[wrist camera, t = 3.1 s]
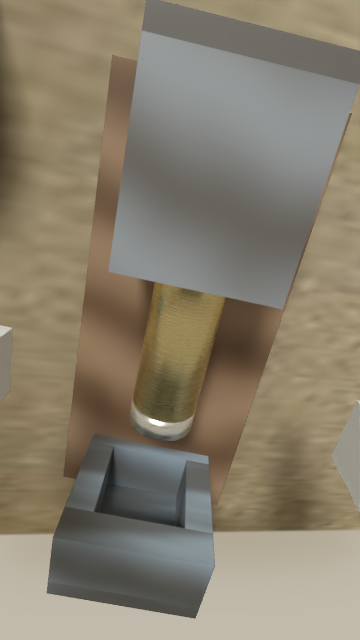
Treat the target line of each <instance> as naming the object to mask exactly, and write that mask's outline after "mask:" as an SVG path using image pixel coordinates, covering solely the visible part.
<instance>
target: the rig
mask: <svg viewBox="0 0 360 640" xmlns="http://www.w3.org/2000/svg"><path fill="white" fill-rule="evenodd" d="M359 84H360V51H358V50H354V49H350V48H346V47H342V46H338V45H334V44H330V43H326V42H322V41H318V40H314V39H311V38H307V37H303V36H299V35H295V34H291V33H287V32H283V31H279V30H275V29H271V28H267V27H263V26H259V25H255V24H251V23H247V22H243V21H239V20H235V19H231V18H228V17H224V16H220V15H216V14H212V13H208V12H204V11H200V10H196V9H192V8H188V7H184V6H180V5H176V4H172V3H168V2H164V1H160V0H146V5H145V12H144V19H143V26H142V34H141V41H140V48H139V55H138V61H134V60H130V59H126V58H122V57H118V56H114V55H112V63H111V72H110V80H109V89H108V98H107V106H106V115H105V123H104V132H103V141H102V149H101V158H100V166H99V175H98V184H97V192H96V201H95V209H94V218H93V227H92V235H91V244H90V252H89V261H88V270H87V278H86V287H85V295H84V304H83V313H82V321H81V330H80V338H79V347H78V356H77V364H76V373H75V381H74V390H73V399H72V407H71V416H70V424H69V433H68V442H67V450H66V459H65V467H64V477H70V478H75V479H76V480H75V483H74V486H73V488H72V491H71V493H70V496H69V498H68V501H67V503H66V506H65V508H64V511H63V513H62V516H61V518H60V521H59V523H58V526H57V528H56V531H55V534H54V536H53V543H52V551H51V560H50V569H49V578H48V587H47V593H50V594H55V595H62V596H67V597H73V598H78V599H84V600H90V601H96V602H103V603H108V604H114V605H119V606H125V607H131V608H137V609H143V610H149V611H155V612H160V613H166V614H172V615H179V616H184V617H190V618H196V615H197V613H198V610H199V607H200V604H201V602H202V599H203V596H204V594H205V591H206V589H207V586H208V583H209V580H210V578H211V575H212V572H213V570H214V567H215V562H214V561H215V560H214V544H213V527H212V510H211V504H214V505H217V504H218V501H219V498H220V495H221V492H222V489H223V486H224V483H225V480H226V478H227V475H228V472H229V469H230V466H231V463H232V460H233V457H234V454H235V451H236V449H237V446H238V443H239V440H240V437H241V434H242V431H243V428H244V425H245V422H246V419H247V417H248V414H249V411H250V408H251V405H252V402H253V399H254V396H255V393H256V390H257V388H258V385H259V382H260V379H261V376H262V373H263V370H264V367H265V364H266V361H267V358H268V356H269V353H270V350H271V347H272V344H273V341H274V338H275V335H276V332H277V329H278V327H279V324H280V321H281V318H282V315H283V312H284V309H285V306H286V303H287V300H288V297H289V295H290V292H291V289H292V286H293V283H294V280H295V277H296V274H297V271H298V268H299V266H300V263H301V260H302V257H303V254H304V251H305V248H306V245H307V242H308V239H309V237H310V234H311V231H312V228H313V225H314V222H315V219H316V216H317V213H318V210H319V207H320V205H321V202H322V199H323V196H324V193H325V190H326V187H327V184H328V181H329V178H330V176H331V173H332V170H333V167H334V164H335V161H336V158H337V155H338V152H339V149H340V146H341V144H342V141H343V138H344V135H345V132H346V129H347V126H348V123H349V120H350V117H351V115H352V113H350V111H351V108H352V105H353V102H354V99H355V96H356V93H357V90H358V87H359ZM155 282H158V283H162V284H167V285H172V286H176V287H181V288H186V289H190V290H195V291H200V292H204V293H209V294H214V295H218V296H223V297H226V301H225V305H224V308H223V312H222V315H221V319H220V323H219V326H218V330H217V334H216V337H215V341H214V345H213V348H212V352H211V355H210V359H209V363H208V366H207V370H206V374H205V377H204V381H203V385H202V388H201V392H200V395H199V399H198V403H197V406H196V411H195V415H194V419H193V422H192V426H191V429H190V431H189V433H188V434H187V435H186V436H185V437H183V438H181V439H179V440H175V441H158V440H154V439H151V438H148V437H146V436H144V435H142V434H140V433H139V432H138V431H137V430H136V429H135V428H134V427H133V426H132V424H131V422H130V419H129V413H130V407H131V402H132V397H133V394H134V388H135V383H136V378H137V373H138V368H139V362H140V357H141V352H142V347H143V342H144V336H145V331H146V326H147V321H148V316H149V310H150V305H151V300H152V295H153V289H154V284H155Z"/></svg>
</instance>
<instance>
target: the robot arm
mask: <svg viewBox="0 0 360 640" xmlns="http://www.w3.org/2000/svg"><path fill="white" fill-rule="evenodd" d="M12 329H13V328H10V327H5V326H0V402H1V401H2V400H3V398H4V397H5V396H6V395H7V394H8V393H9V392H10V376H11V353H12ZM331 458H332V460H333V462H334V464H335V466H336V468H337V470H338V471H339V473H340V475H341V477H342V479H343V481H344V483H345V485H346V487H347V489H348V491H349V493H350V495H351V497H352V499H353V501H354V503H355V505H356V507H357V509H358V511H359V512H360V401H358V400H357V402H356V404H355V406H354V408H353V410H352V412H351V415H350V417H349V419H348V421H347V423H346V425H345V427H344V430H343V432H342V434H341V436H340V438H339V440H338V442H337V445H336V447H335V449H334V451H333V453H332V455H331Z"/></svg>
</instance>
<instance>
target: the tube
mask: <svg viewBox="0 0 360 640" xmlns="http://www.w3.org/2000/svg"><path fill="white" fill-rule="evenodd" d="M225 301H226V297H223V296H218V295H214V294H209V293H204V292H200V291H195V290H190V289H186V288H181V287H176V286H172V285H167V284H162V283H158V282H155V284H154V289H153V295H152V300H151V305H150V310H149V316H148V321H147V326H146V331H145V336H144V342H143V347H142V352H141V357H140V362H139V368H138V373H137V378H136V383H135V388H134V394H133V397H132V402H131V407H130V413H129V419H130V422H131V424H132V426H133V427H134V428H135V429H136V430H137V431H138V432H139V433H140V434H142V435H144V436H146V437H148V438H151V439H154V440H158V441H175V440H179V439H181V438H183V437H185V436H186V435H187V434H188V433H189V431H190V429H191V426H192V422H193V419H194V415H195V411H196V406H197V403H198V399H199V395H200V392H201V388H202V385H203V381H204V377H205V374H206V370H207V366H208V363H209V359H210V355H211V352H212V348H213V345H214V341H215V337H216V334H217V330H218V326H219V323H220V319H221V315H222V312H223V308H224V305H225Z"/></svg>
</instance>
